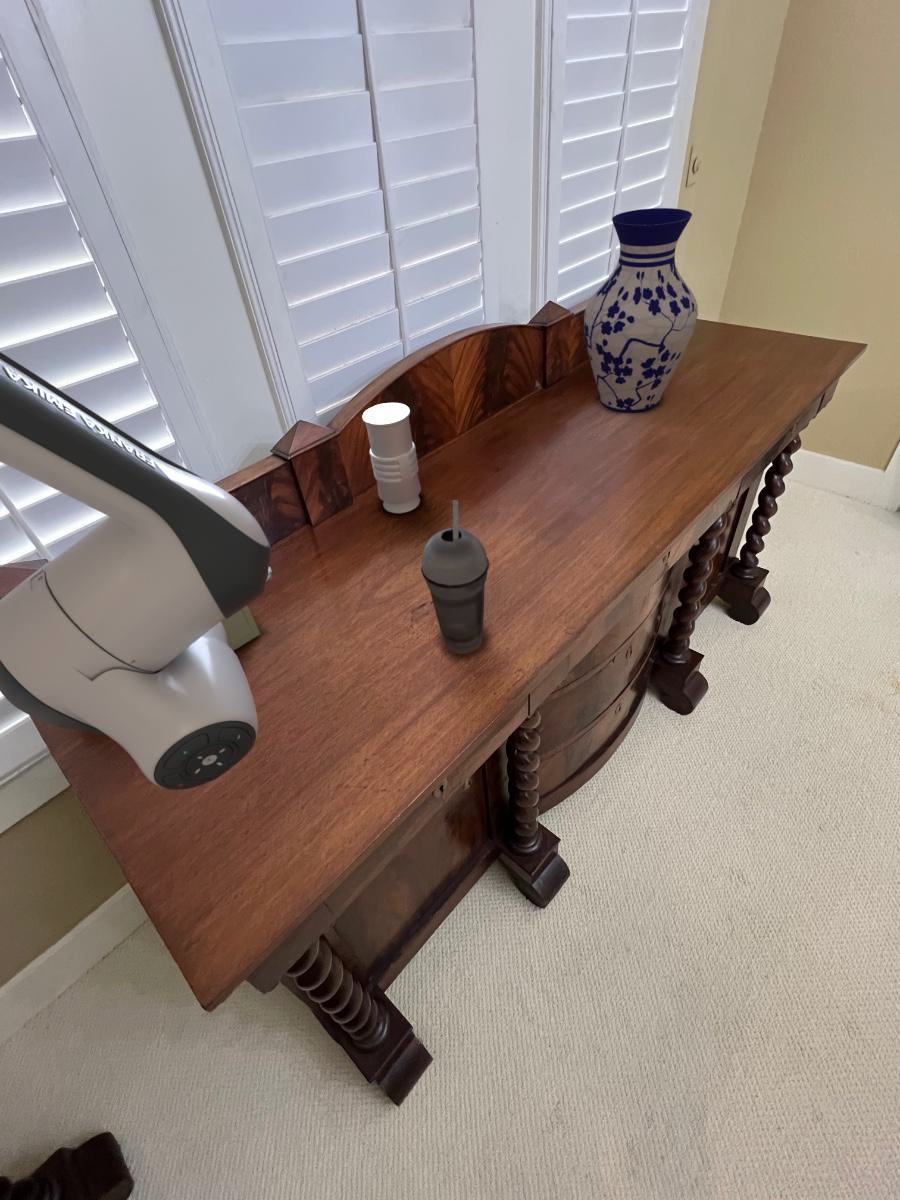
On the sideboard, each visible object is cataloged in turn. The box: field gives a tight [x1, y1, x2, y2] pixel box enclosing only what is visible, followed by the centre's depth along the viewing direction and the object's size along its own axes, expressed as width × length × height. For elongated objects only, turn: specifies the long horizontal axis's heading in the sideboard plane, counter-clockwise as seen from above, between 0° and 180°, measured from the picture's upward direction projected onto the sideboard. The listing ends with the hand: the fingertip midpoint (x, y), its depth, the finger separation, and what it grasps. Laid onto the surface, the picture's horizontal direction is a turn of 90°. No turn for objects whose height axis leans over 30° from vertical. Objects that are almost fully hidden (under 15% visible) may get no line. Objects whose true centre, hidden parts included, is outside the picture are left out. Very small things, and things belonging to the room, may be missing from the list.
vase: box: [583, 207, 699, 414], centre depth 102 cm, size 19×19×30 cm
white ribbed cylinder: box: [362, 402, 422, 514], centre depth 88 cm, size 7×7×15 cm
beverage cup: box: [420, 500, 490, 655], centre depth 63 cm, size 7×7×20 cm
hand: (139, 551), depth 60 cm, fingers closed on lightbulb, 6 cm apart
